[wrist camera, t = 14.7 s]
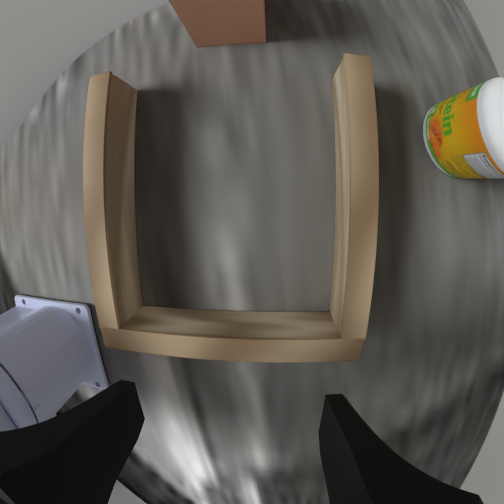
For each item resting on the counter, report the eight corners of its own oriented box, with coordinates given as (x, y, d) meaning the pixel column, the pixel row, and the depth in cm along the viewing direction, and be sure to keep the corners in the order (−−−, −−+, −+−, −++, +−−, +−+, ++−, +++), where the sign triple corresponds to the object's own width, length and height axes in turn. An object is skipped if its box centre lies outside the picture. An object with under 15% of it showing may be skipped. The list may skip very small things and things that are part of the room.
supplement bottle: (431, 88, 15) (520, 40, 5) (484, 131, 15) (578, 115, 5) (410, 152, 16) (513, 129, 6) (466, 192, 16) (569, 204, 7)
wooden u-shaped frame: (130, 321, 20) (103, 346, 16) (120, 93, 16) (89, 76, 12) (346, 328, 19) (361, 359, 15) (351, 81, 15) (370, 56, 11)
